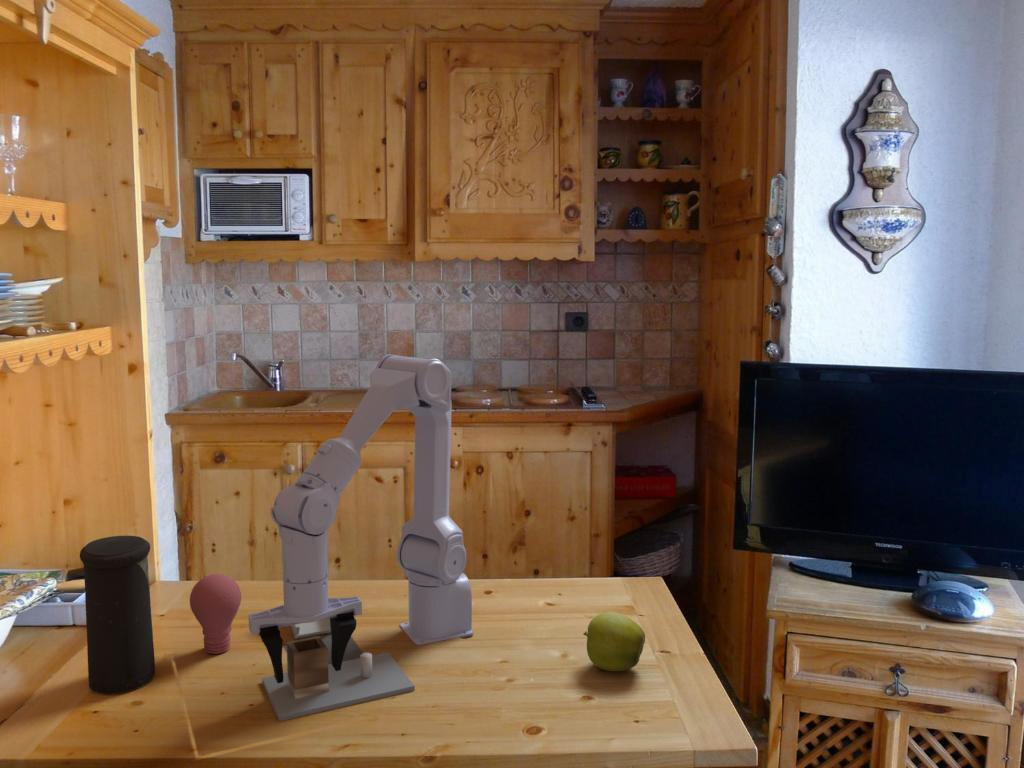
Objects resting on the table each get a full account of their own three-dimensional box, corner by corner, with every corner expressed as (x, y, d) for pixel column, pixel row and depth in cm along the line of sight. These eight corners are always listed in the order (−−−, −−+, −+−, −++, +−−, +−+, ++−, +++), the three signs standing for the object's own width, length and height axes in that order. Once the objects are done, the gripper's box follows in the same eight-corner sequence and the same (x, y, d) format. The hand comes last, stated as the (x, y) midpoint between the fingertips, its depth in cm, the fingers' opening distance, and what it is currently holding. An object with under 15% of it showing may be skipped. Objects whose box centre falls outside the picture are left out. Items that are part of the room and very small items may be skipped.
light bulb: (227, 666, 124) (224, 586, 122) (182, 661, 125) (178, 582, 123) (252, 644, 130) (249, 568, 129) (209, 640, 132) (205, 564, 130)
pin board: (388, 658, 126) (387, 632, 126) (414, 692, 117) (414, 664, 116) (262, 684, 118) (261, 657, 118) (279, 723, 109) (278, 694, 108)
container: (171, 671, 122) (164, 534, 119) (123, 701, 114) (114, 555, 111) (122, 661, 125) (114, 527, 122) (72, 690, 116) (62, 547, 113)
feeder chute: (321, 613, 141) (320, 581, 140) (335, 633, 133) (334, 599, 132) (284, 620, 138) (283, 587, 137) (296, 641, 131) (295, 606, 130)
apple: (587, 651, 130) (589, 600, 128) (648, 661, 127) (650, 609, 125) (574, 674, 122) (575, 621, 121) (637, 686, 119) (639, 631, 118)
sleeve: (320, 676, 119) (319, 635, 118) (328, 691, 115) (327, 648, 114) (287, 683, 117) (286, 641, 116) (295, 698, 113) (294, 655, 112)
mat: (347, 634, 134) (347, 631, 134) (367, 661, 126) (367, 658, 125) (282, 646, 130) (282, 644, 130) (298, 675, 121) (298, 673, 121)
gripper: (350, 558, 120) (352, 650, 122) (242, 574, 114) (246, 671, 116) (366, 575, 114) (367, 672, 116) (253, 593, 107) (256, 695, 109)
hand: (308, 673), depth 115 cm, fingers open, 7 cm apart
